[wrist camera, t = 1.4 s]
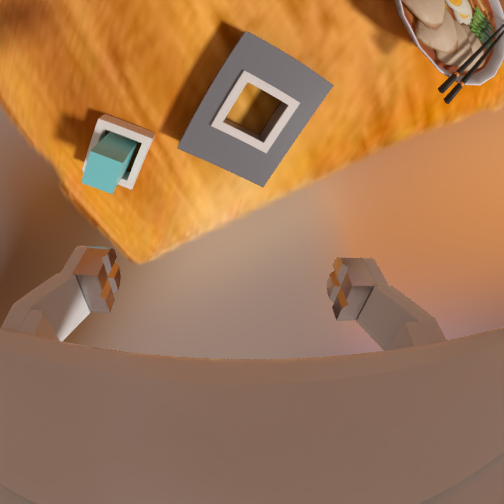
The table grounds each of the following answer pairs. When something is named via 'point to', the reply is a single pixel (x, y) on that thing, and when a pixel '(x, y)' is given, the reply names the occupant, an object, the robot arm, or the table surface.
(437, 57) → the ramen bowl
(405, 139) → the table surface
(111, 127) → the white square frame
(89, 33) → the table surface
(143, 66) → the table surface
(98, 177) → the plug
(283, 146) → the socket block
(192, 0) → the table surface
